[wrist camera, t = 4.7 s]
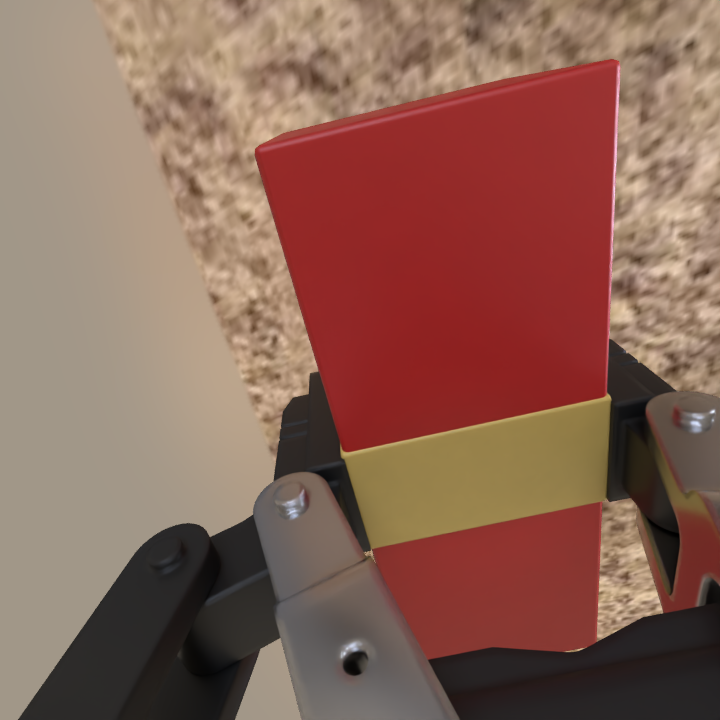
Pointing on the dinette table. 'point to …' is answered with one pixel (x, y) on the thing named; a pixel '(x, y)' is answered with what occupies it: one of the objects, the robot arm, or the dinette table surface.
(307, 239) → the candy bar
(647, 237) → the dinette table surface
